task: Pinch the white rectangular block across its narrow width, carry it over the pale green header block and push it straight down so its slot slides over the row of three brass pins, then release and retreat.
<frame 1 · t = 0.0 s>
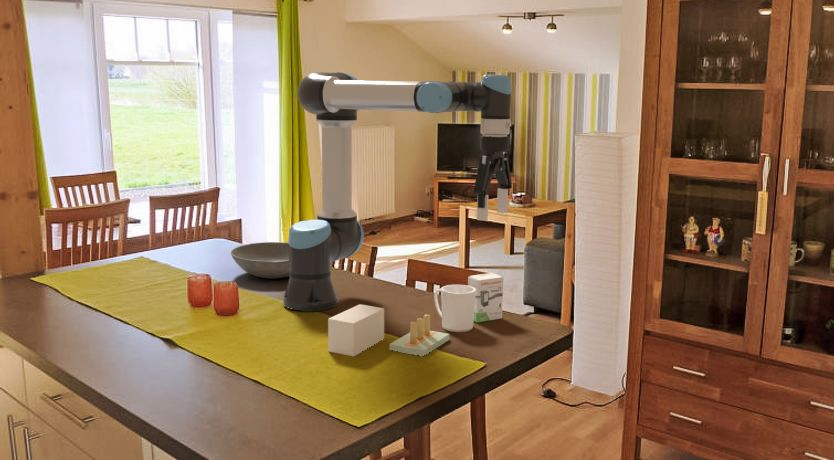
hand: (492, 216, 207), 28 cm above the counter, fingers open, 13 cm apart
ink box: (484, 319, 213), on the counter
white rectangular block: (356, 345, 190), on the counter
mug: (453, 327, 205), on the counter
header block: (420, 344, 191), on the counter
bowl: (274, 275, 256), on the counter
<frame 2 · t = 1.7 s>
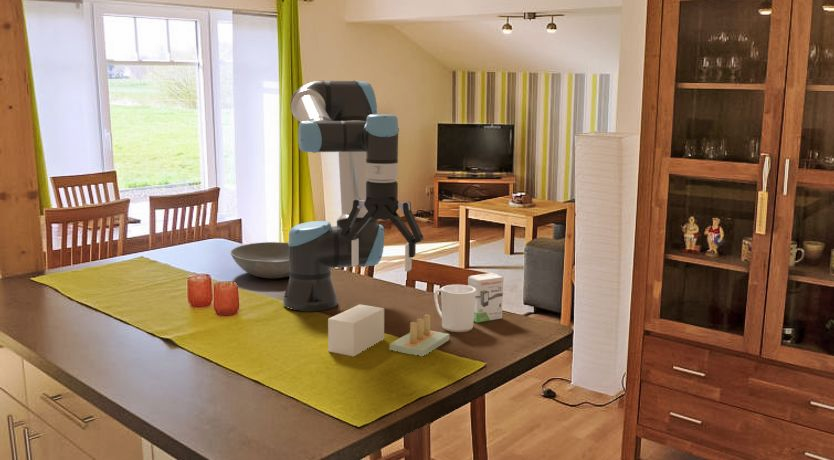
hand: (381, 268, 190), 18 cm above the counter, fingers open, 13 cm apart
nothing on the counter moved.
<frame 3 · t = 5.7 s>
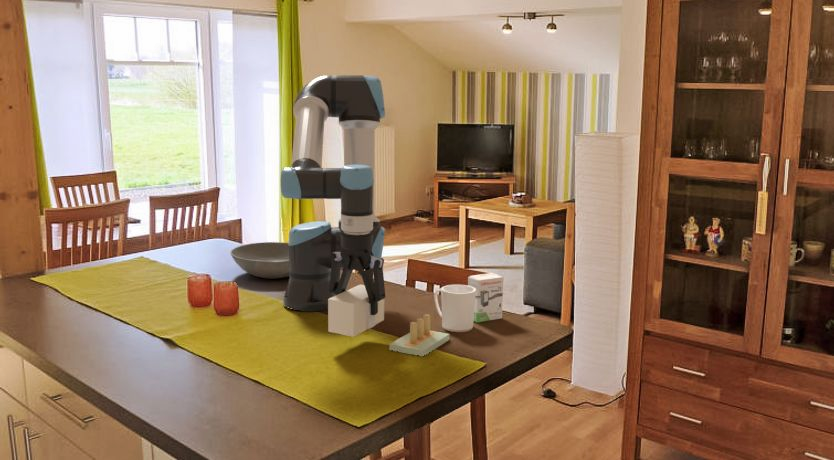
hand: (356, 324, 189), 5 cm above the counter, fingers closed on white rectangular block, 7 cm apart
white rectangular block: (356, 325, 189), point 5 cm above the counter, touching gripper
everything else where it was.
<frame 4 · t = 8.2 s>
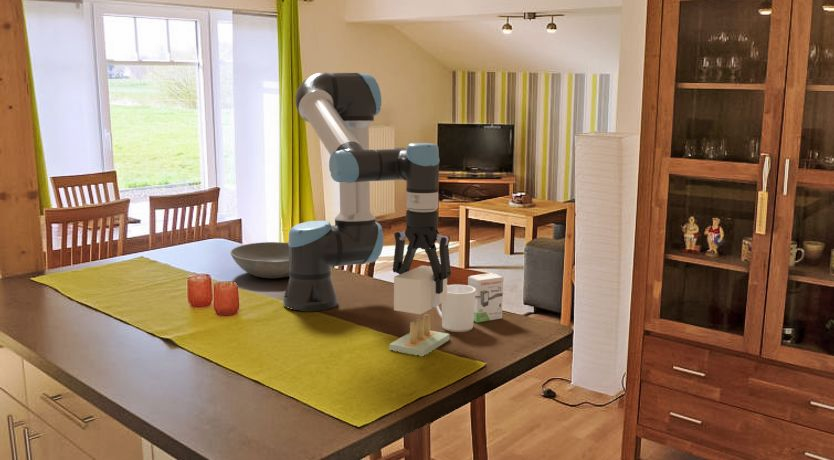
hand: (421, 303, 188), 10 cm above the counter, fingers closed on white rectangular block, 7 cm apart
white rectangular block: (420, 305, 188), point 10 cm above the counter, touching gripper
everything else where it was.
when the fingers open (2 cm above the counter, at t = 11.0 s): white rectangular block stays where it is, resting on header block.
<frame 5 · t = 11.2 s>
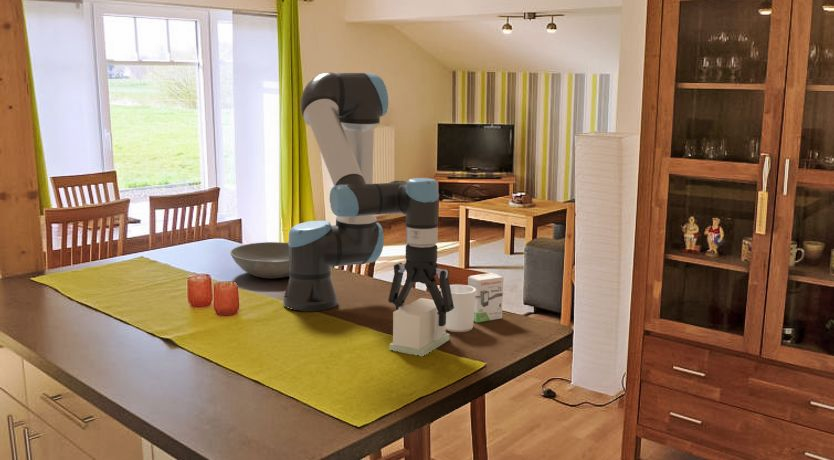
hand: (420, 334, 190), 3 cm above the counter, fingers open, 9 cm apart
white rectangular block: (419, 338, 190), point 2 cm above the counter, touching header block
everything else where it was.
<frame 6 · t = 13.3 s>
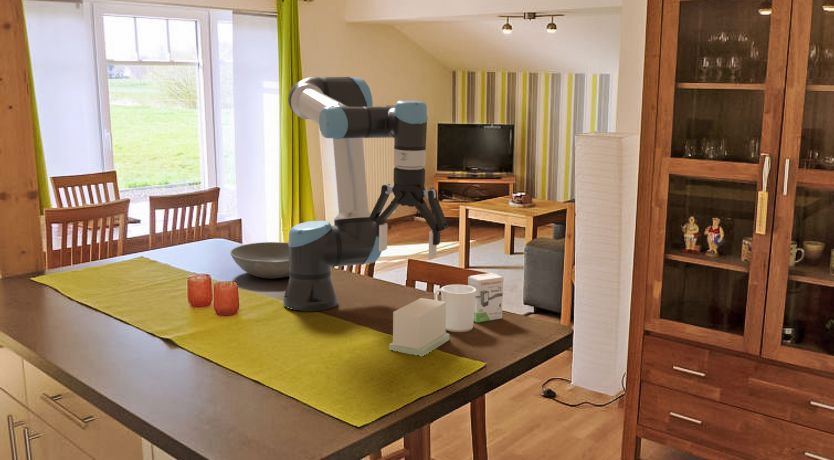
hand: (407, 254, 191), 22 cm above the counter, fingers open, 13 cm apart
nothing on the counter moved.
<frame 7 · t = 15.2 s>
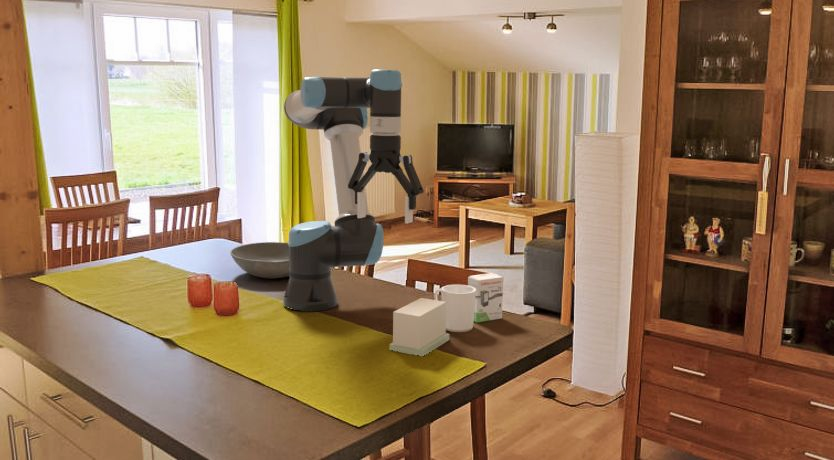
hand: (384, 220, 195), 29 cm above the counter, fingers open, 13 cm apart
nothing on the counter moved.
at the end: white rectangular block 0.1 cm off-centre on the header block, point 1.6 cm above the header block's base; white rectangular block tilted 0°; the gripper is holding nothing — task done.
